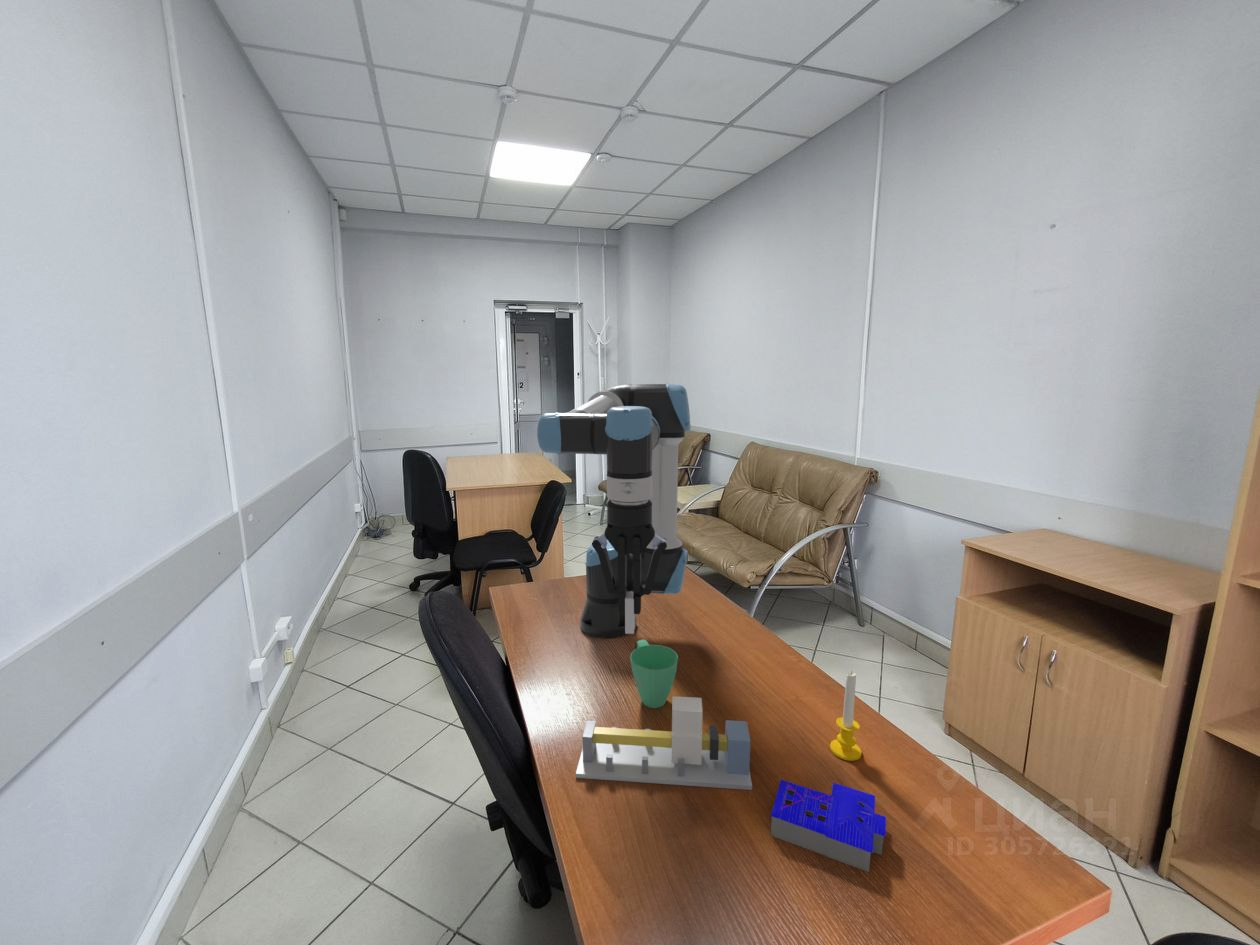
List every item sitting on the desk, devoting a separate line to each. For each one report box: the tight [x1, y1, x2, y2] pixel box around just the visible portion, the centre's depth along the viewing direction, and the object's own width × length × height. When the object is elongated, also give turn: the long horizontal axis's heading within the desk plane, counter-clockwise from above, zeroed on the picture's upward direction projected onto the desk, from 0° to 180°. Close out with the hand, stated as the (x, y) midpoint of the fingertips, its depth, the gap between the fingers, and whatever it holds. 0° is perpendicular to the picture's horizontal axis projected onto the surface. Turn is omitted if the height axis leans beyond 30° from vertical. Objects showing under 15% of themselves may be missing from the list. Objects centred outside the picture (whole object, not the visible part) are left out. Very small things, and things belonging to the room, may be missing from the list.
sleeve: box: [671, 695, 703, 765], centre depth 91 cm, size 5×5×9 cm
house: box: [770, 779, 887, 873], centre depth 78 cm, size 11×15×5 cm
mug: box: [629, 639, 679, 709], centre depth 111 cm, size 15×10×10 cm
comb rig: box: [575, 719, 753, 791], centre depth 91 cm, size 29×10×7 cm, turn 85°
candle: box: [829, 670, 863, 762], centre depth 94 cm, size 5×5×16 cm
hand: (630, 629), depth 93 cm, fingers closed
